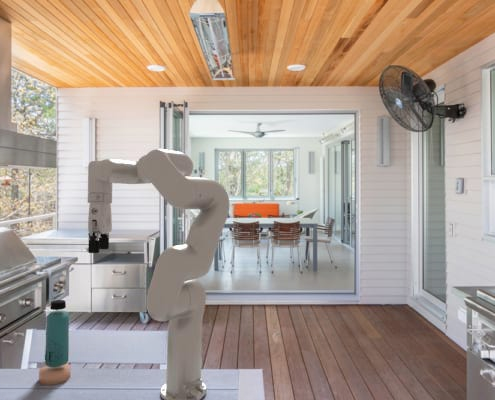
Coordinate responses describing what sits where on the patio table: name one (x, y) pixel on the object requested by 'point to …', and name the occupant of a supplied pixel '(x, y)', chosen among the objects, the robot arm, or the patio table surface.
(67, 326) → the beverage bottle
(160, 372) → the patio table surface
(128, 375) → the patio table surface
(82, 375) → the patio table surface
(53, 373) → the tan rounded flat piece
